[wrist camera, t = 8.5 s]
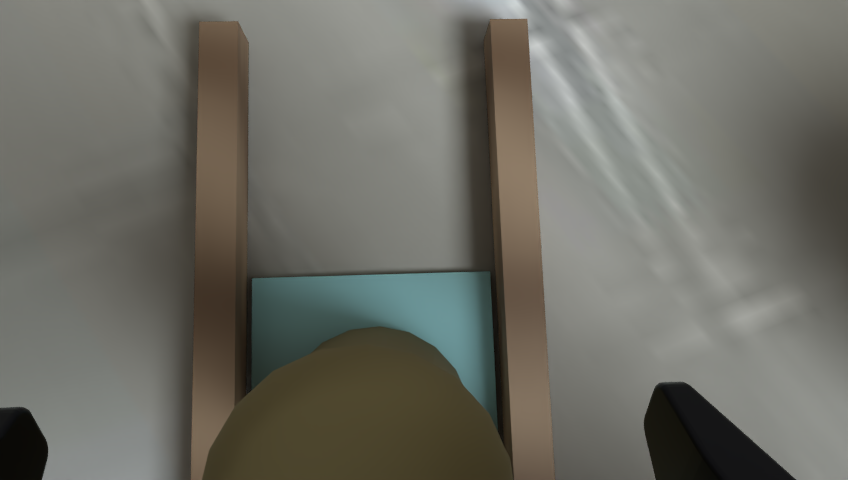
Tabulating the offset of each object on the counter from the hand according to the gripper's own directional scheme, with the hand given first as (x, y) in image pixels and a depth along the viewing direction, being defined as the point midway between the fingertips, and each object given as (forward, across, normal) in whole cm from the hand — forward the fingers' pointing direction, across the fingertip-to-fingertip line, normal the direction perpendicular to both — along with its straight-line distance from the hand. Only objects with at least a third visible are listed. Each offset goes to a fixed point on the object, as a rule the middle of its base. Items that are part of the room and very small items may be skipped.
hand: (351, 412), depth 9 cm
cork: (+7, 0, +9) cm, 11 cm away
